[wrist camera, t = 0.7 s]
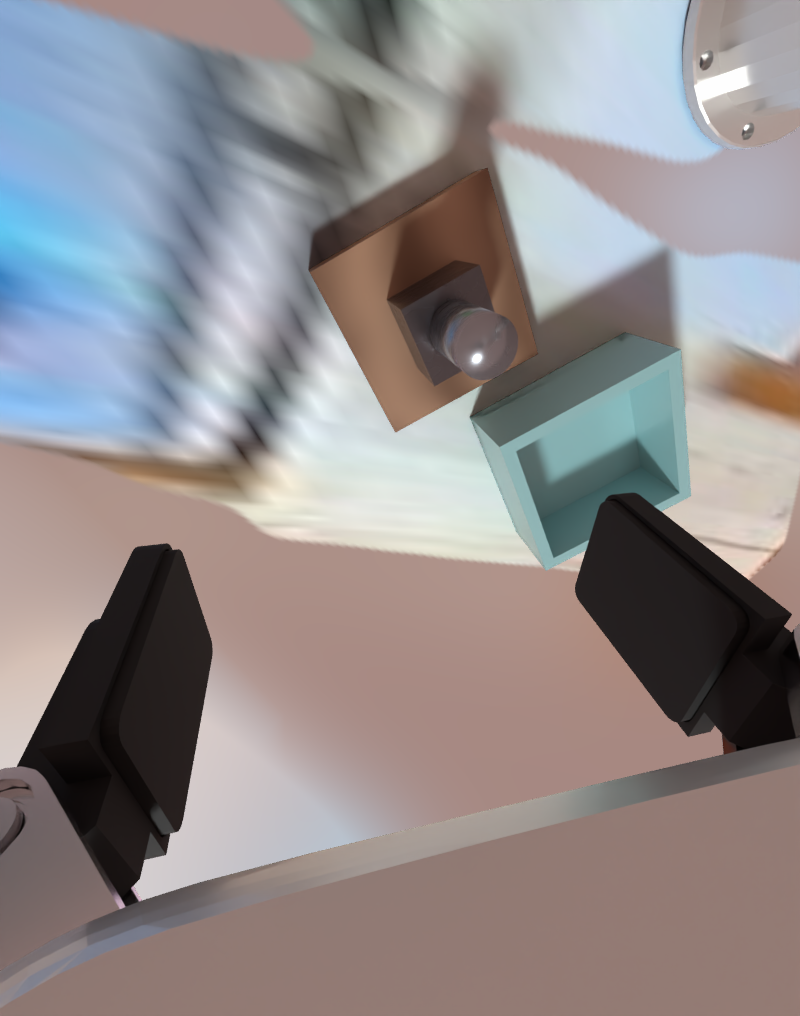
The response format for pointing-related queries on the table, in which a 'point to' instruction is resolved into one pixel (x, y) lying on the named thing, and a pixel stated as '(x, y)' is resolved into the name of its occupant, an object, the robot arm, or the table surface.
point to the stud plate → (401, 263)
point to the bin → (589, 442)
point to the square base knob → (454, 325)
